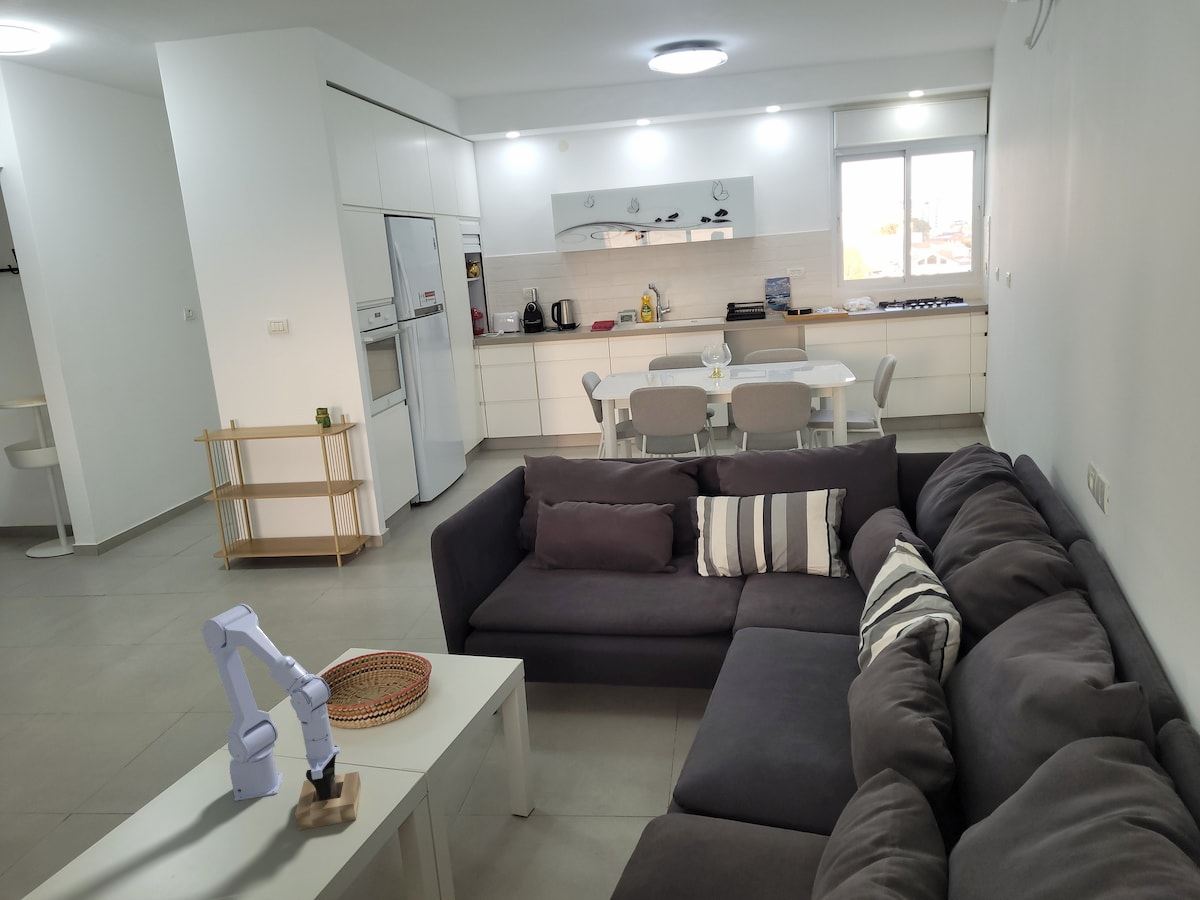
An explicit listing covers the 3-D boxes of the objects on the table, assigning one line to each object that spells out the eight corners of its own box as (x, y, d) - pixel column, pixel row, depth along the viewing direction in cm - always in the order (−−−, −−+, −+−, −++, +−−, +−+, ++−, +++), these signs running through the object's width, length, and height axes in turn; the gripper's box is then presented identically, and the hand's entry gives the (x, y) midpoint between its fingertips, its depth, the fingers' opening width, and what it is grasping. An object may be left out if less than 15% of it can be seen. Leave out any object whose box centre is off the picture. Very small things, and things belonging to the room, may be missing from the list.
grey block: (319, 813, 194) (314, 784, 192) (322, 802, 197) (317, 774, 196) (338, 809, 194) (333, 781, 192) (340, 798, 198) (335, 771, 196)
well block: (298, 830, 189) (295, 813, 188) (307, 796, 201) (304, 780, 200) (356, 819, 191) (353, 803, 190) (361, 786, 203) (358, 771, 202)
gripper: (332, 749, 185) (342, 805, 188) (340, 713, 199) (349, 767, 202) (297, 754, 184) (308, 811, 187) (307, 718, 198) (317, 772, 201)
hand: (327, 789), depth 195 cm, fingers open, 5 cm apart
